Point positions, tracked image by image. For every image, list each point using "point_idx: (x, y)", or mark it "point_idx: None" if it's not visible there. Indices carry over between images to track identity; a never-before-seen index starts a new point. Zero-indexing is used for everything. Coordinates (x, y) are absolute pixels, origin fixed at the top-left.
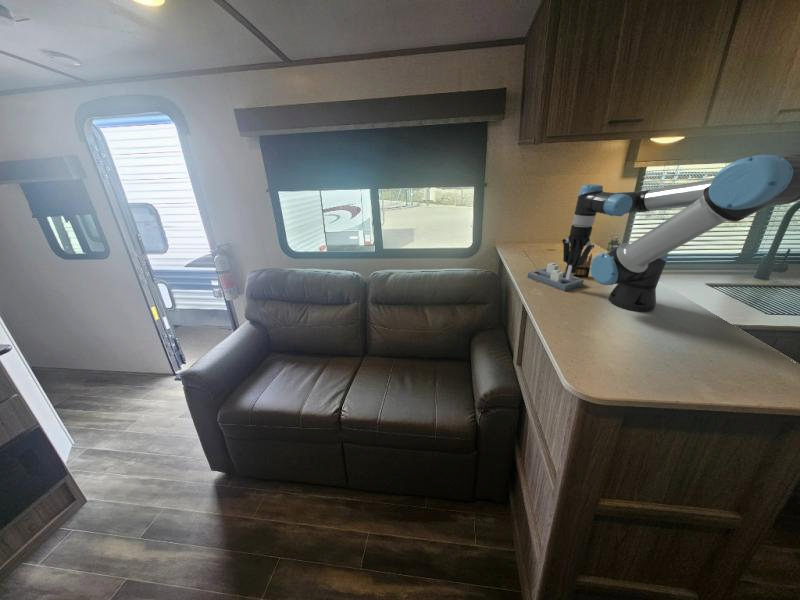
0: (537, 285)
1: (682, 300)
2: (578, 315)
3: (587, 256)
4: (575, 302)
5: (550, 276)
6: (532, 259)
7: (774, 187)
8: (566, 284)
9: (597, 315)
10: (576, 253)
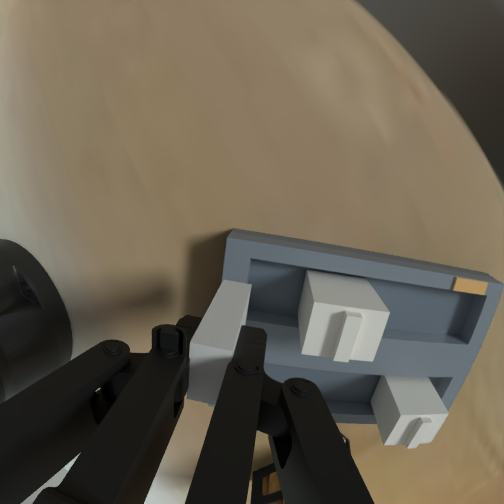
0: (400, 193)
1: None
2: (66, 22)
3: None
4: (117, 124)
5: (375, 291)
6: (490, 463)
7: None
8: (236, 265)
9: (23, 90)
10: (104, 463)
